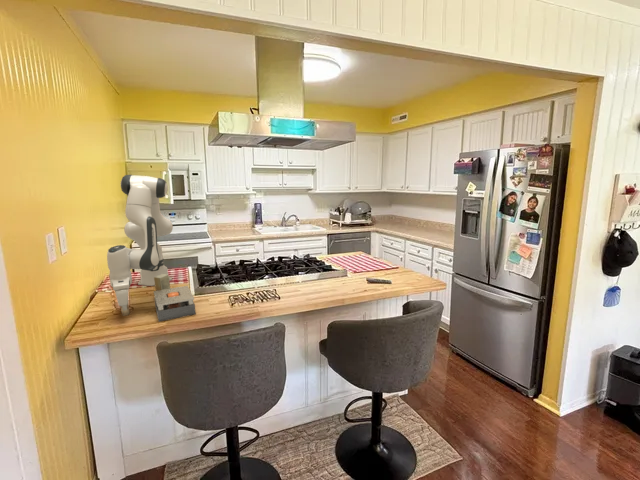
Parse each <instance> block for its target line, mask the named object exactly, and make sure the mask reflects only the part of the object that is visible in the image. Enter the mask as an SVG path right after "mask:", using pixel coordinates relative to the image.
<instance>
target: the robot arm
mask: <svg viewBox="0 0 640 480" xmlns="http://www.w3.org/2000/svg"><path fill="white" fill-rule="evenodd" d="M120 188H121V191H122V193H123V194H124V195H126V196H127V198H126V205H125V210H124V212H125V213H124V214H125V216H126V218H127V220H128V222H126V224H125V225H124V234H125V236H126V237H127V238H129V239H130V240H132V241H134V242H135V243H136V244H137V245H138V247H139V249H137V248H129V247H127V246H126V245H123V244H119V245H118V244H117V245H115V246H114V245H113V246H111V247H110V248H108V250H107V254H106V261H107V267H108V270H109V274H108V275H109V282H110V286H111V288H113V289H112V290H113V291H114V293H115V296H116V299H117V304H118V306H119V307H121V306H122V308H123V311H125V310H127V305H129V289H130V286H131V285H132V284H133V278H132V271H131V269H132V270H140V271H139V275H140V279H139V280H138V282H137V285H139V286H146V287H147V286H148V287H149V286H155V281H154V277H156V276H158V275H161V274H168V275H169V271H168V267H167V266H165V260H164V258H163V249H162V246H161V245H160V244H159V243H158V237H164V236H167V235H170V234H171V233H172V232H173V226H174V225H173V222H172V221H171V220H170V219H169V218H167V217H165V216H164V215H163V214H162V212H161V208H160V199H162V198H164V197H166V196H167V194H168V190H169V189H168V188H169V187H168V183H167V181H166V180H165V179H163V178H160V177H158V178H157V177H155V176H149V175H134V174H125V175H123V176H122V178H121V181H120ZM172 280H173V278H172V277H171V276H170V275H169V282H171V281H172Z"/></svg>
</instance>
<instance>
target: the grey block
mask: <svg viewBox="0 0 640 480" xmlns="http://www.w3.org/2000/svg"><path fill="white" fill-rule="evenodd" d="M120 310H121V311H120V312H121V315H122V317H125V316H128V315H130V314H131V313H130V307H129V304H128V305H127V310H125V311H123V308H122V306H120Z"/></svg>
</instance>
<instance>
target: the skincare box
mask: <svg viewBox="0 0 640 480" xmlns="http://www.w3.org/2000/svg"><path fill="white" fill-rule="evenodd" d="M169 276H170V275H169V273H168V274H161V275H158V276H156V277H154V281H155V285H154V289H155V291H158V290H164V289H170V288H171V283H170V281H169Z"/></svg>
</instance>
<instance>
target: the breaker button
mask: <svg viewBox="0 0 640 480" xmlns="http://www.w3.org/2000/svg"><path fill="white" fill-rule="evenodd" d="M174 296H179V293H178V292H171V293H169V294H168V297H174Z"/></svg>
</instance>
